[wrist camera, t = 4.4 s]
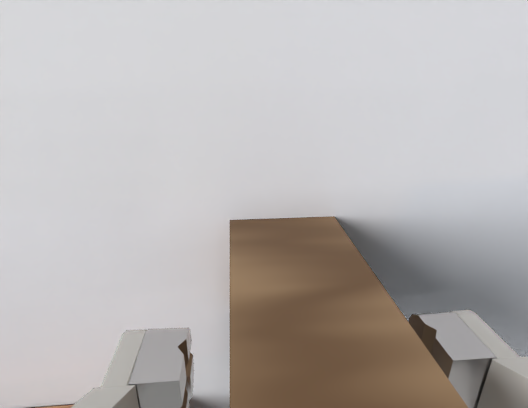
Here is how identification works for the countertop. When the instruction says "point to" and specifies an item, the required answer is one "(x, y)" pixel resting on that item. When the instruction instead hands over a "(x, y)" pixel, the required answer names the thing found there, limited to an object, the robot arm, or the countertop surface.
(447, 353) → the robot arm
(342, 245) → the tan plain wooden block
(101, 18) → the countertop surface
